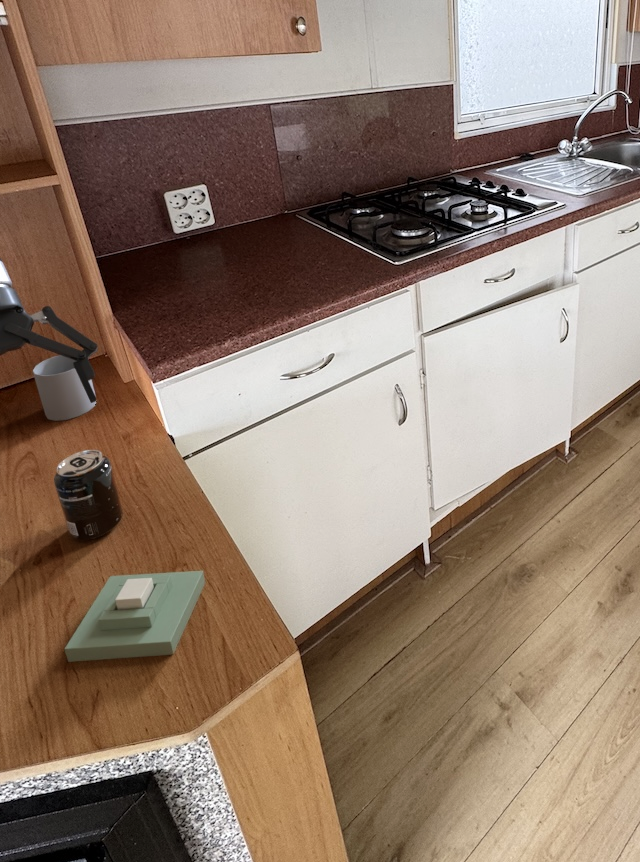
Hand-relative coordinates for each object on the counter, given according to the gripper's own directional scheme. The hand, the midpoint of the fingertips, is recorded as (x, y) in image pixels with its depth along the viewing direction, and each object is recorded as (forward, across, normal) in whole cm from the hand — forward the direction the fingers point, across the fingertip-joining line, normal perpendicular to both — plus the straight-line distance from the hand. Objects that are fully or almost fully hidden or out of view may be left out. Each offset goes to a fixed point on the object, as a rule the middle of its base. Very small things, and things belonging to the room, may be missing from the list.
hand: (40, 423), depth 85 cm
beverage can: (+18, -1, -5) cm, 18 cm away
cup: (-6, -4, -36) cm, 36 cm away
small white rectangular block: (+28, -2, +14) cm, 31 cm away
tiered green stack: (+30, -1, +12) cm, 33 cm away
